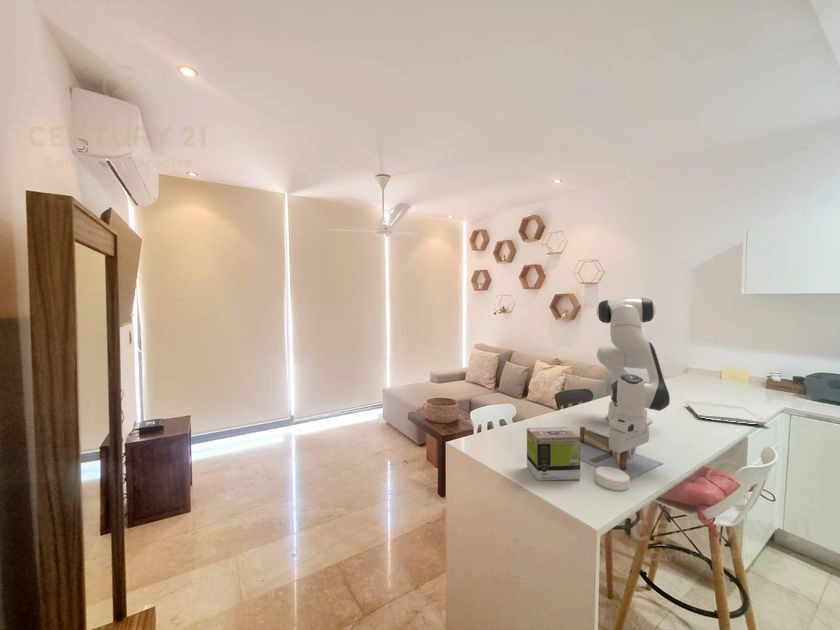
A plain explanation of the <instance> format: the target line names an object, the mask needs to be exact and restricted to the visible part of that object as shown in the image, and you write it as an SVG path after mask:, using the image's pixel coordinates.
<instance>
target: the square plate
mask: <svg viewBox="0 0 840 630" xmlns="http://www.w3.org/2000/svg"><path fill="white" fill-rule="evenodd" d="M684 403H685V404H686V405H687V407H688V408H689V409H690V410H692V412H694V413H695V415H696V414H697V415H696V416H697V417H698V416H699V417H698V418H700V417H705V418H713V419H721V420H728V421H736V422H746V423H756V424H759V425H758V426H763V425H765V424H767V423H768V421H767V420H766V419H764V418H762V416H759V415H758V414H756V413H755V412H753V411H751V410H750V409H748V408H746V407H743V406H737V405H730V404H729V405H728V404H720V403H712V402H711V403H710V402H700V401H698V402H697V401H684ZM689 404H693V405H705V406H713V407H722V408H731V409H743V410H745V411H746V412H747V413H748V414H749V415H751V416H752V417H754V418H755V419H757V420H758V421H754V420H748V419H740V418H732V417H720V416H706V415H699V414H698V413H697V412H696V411H695V409H694V408H693V407H692V406H690V405H689Z"/></svg>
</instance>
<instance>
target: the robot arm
mask: <svg viewBox="0 0 840 630" xmlns="http://www.w3.org/2000/svg"><path fill="white" fill-rule="evenodd" d="M655 314H656V307H655V304H654V302H653V301H652V300H651V299H650V298H644V297H643V298H636V297H635V298H629V297H628V298H620V299H619V298H618V299H611V300H608V299H607V300H602V301H600V302H599V304H598V305H597V308H596V316H597V318H598V320H599V321H600V322H601V323H604V324H609V325H610V327H609V328H610V332H609V333H610V338H611V343H612V344H606V345H601V346H600V347H599V348H598V350H597V352H596V357H597V361H598V362H599V363H600V364H601V365H603V366H604V367H605V368H606V370H607V371H608V372H609V374H610V377H611V381H612V382H611V383H612V384H610V386H611V395H610V400H611V401H610V402H609V403H608V410H607V414H606V415H605V418H606V419H607V421H608V423H607V424H608V425H607V426H608V428H609V431H608V437H609V448H610V450H612V451H614V452H617V453H622V452H624V451H626V452H627V459H628V460H631V459H633V458H634V453H636V451H637V447H639V446H642V445H644V444H646V443H648V442H649V440H650V427H649V425H650V424H652V423H653V422H652V421H653V419H652V418H650V417H648V411H647V409H649V410H654V411H658V412H659V411H662V410H665V408H666V409H667V407H668V406H669V405H670V401H671V396H670V392H669V390H668V387H667V385H666V382H665V380H664V375H663V372H662V369H661V365H660V362H659V358H658V354H657V353H656V349H655V347H654V345H653V343H651V342H650V341H648V340H647V339H646V338H645V335H644V334H643V329H642V323H649V322H651V321H652V320H653V319H654V316H655ZM624 368H630V369H640V370H641V369H642V370H643V369H646V371H647V375H648V378H649V381H644V378H642V377H640V376H638V375H634V374H630V373H628V372H627V371H626V370H625V369H624ZM651 422H652V423H651ZM649 423H650V424H649ZM648 424H649V425H648Z"/></svg>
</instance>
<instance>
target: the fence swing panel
mask: <svg viewBox="0 0 840 630" xmlns="http://www.w3.org/2000/svg"><path fill="white" fill-rule="evenodd" d="M613 456H614V457H615V459H616V460H617V462H618V463H619V468H620V469H622V470H626V469H627V452H626V451H624V452H622V453H617V452H614V451H613Z"/></svg>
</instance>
